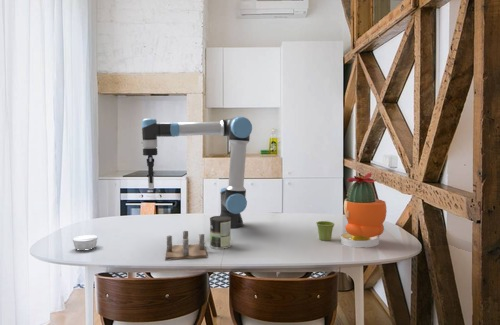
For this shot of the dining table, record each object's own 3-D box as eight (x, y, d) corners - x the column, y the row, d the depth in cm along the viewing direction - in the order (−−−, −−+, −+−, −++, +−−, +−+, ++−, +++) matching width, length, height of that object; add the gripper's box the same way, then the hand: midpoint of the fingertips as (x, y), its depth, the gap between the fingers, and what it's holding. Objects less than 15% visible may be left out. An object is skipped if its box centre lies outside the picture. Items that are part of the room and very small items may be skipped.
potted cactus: (333, 242, 199) (334, 174, 196) (360, 235, 213) (361, 171, 210) (368, 252, 182) (370, 177, 179) (396, 244, 195) (398, 174, 193)
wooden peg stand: (204, 246, 193) (204, 229, 192) (206, 257, 175) (206, 239, 174) (166, 248, 190) (166, 231, 189) (165, 259, 172) (164, 241, 171)
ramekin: (82, 253, 182) (82, 242, 182) (68, 249, 188) (67, 238, 188) (102, 247, 192) (102, 236, 191) (88, 243, 198) (88, 233, 197)
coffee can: (209, 249, 187) (209, 220, 186) (210, 243, 198) (210, 215, 197) (231, 248, 188) (231, 220, 187) (230, 242, 199) (230, 215, 197)
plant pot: (335, 237, 207) (335, 221, 206) (333, 242, 198) (333, 225, 198) (317, 236, 210) (317, 220, 210) (314, 241, 201) (314, 224, 201)
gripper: (143, 147, 220) (144, 184, 221) (142, 149, 196) (143, 191, 197) (156, 146, 222) (157, 184, 223) (157, 148, 197) (158, 190, 199)
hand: (151, 187), depth 210 cm, fingers open, 13 cm apart
